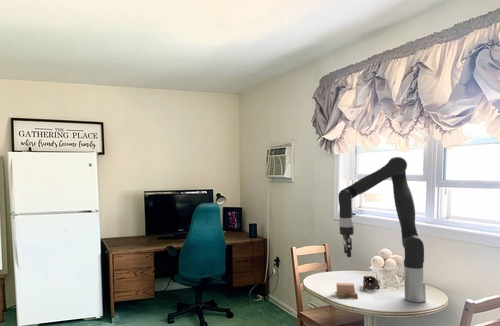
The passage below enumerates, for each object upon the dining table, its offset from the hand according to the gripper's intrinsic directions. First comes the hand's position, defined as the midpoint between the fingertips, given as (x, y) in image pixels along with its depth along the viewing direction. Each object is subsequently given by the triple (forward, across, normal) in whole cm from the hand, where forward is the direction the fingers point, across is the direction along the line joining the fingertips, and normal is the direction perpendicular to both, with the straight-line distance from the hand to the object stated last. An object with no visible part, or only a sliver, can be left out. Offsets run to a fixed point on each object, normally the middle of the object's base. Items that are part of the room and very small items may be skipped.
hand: (347, 255), depth 196 cm
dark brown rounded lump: (+22, +10, -14) cm, 28 cm away
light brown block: (+20, -1, +2) cm, 21 cm away
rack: (+22, -1, +1) cm, 22 cm away
